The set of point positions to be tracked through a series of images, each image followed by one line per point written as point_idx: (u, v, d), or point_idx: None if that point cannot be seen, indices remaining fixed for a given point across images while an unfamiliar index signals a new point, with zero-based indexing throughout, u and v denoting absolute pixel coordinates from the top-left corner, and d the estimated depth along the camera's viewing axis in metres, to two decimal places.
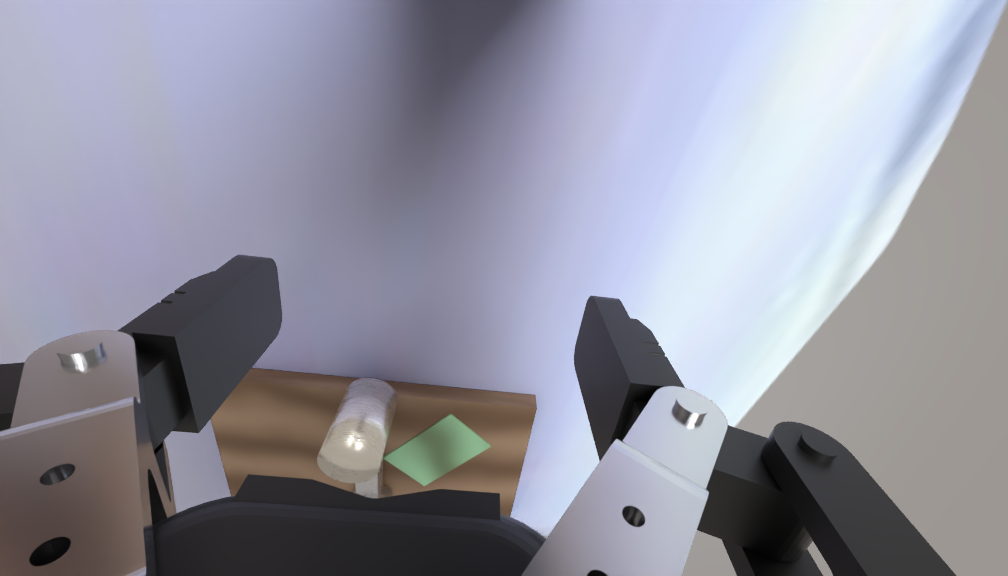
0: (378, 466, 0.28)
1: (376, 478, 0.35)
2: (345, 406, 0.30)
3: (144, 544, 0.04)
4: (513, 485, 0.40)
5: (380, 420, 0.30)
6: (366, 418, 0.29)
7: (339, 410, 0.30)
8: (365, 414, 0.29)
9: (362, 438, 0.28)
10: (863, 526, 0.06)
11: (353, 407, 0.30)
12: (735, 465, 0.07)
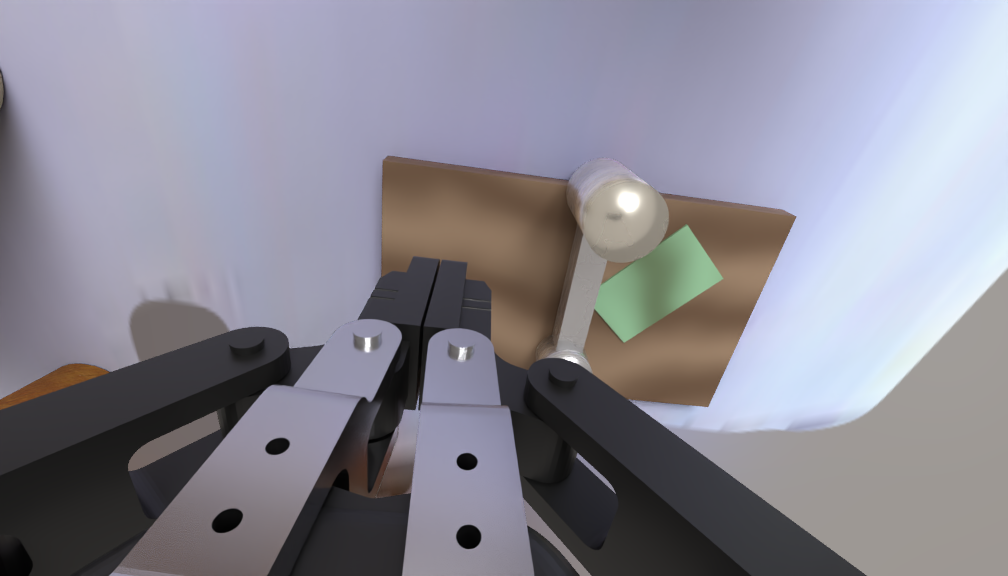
0: (665, 230, 0.21)
1: (593, 307, 0.27)
2: (597, 171, 0.23)
3: (274, 563, 0.04)
4: (732, 343, 0.32)
5: None
6: (636, 176, 0.22)
7: (588, 177, 0.23)
8: (632, 173, 0.22)
9: (649, 185, 0.20)
10: (615, 430, 0.07)
11: (612, 168, 0.22)
12: None
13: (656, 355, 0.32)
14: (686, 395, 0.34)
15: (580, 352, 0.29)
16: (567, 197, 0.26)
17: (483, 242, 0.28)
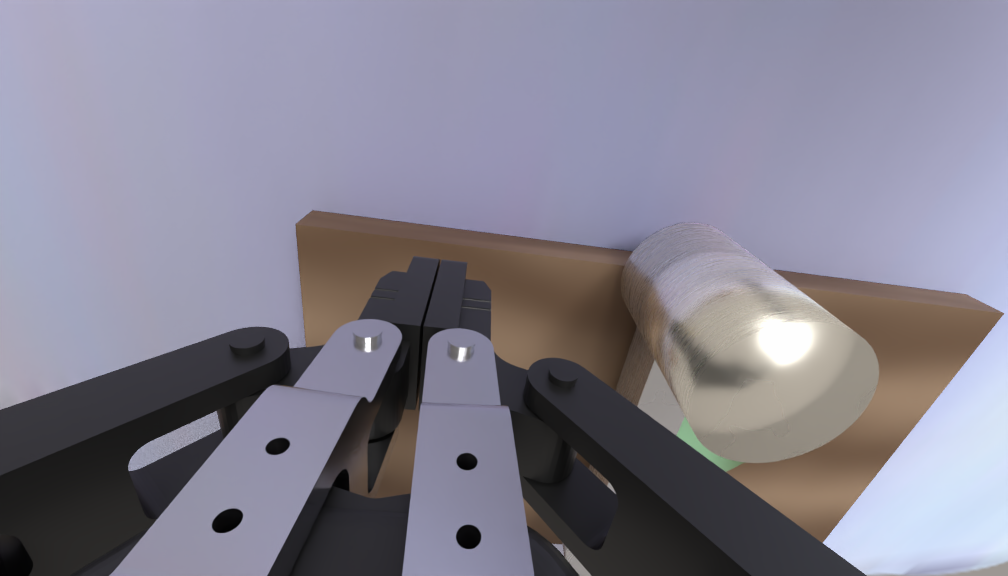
0: (861, 409, 0.10)
1: None
2: (698, 262, 0.12)
3: (275, 564, 0.04)
4: (858, 486, 0.21)
5: None
6: (787, 282, 0.11)
7: (679, 275, 0.12)
8: (775, 274, 0.11)
9: (839, 320, 0.09)
10: (615, 430, 0.07)
11: (731, 261, 0.11)
12: None
13: None
14: None
15: None
16: (624, 290, 0.14)
17: None
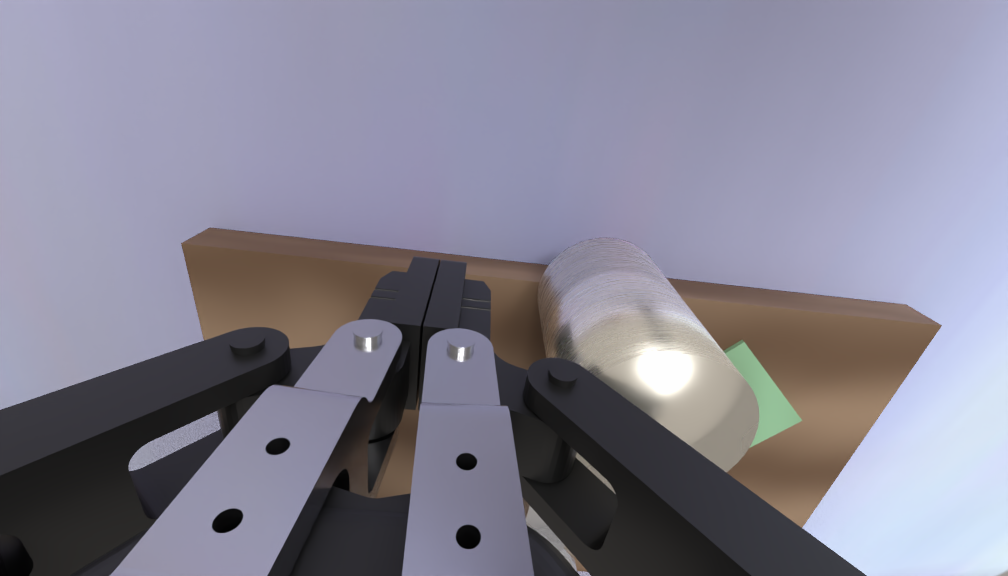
0: (746, 447, 0.09)
1: None
2: (594, 281, 0.11)
3: (275, 563, 0.04)
4: (808, 505, 0.20)
5: None
6: (679, 306, 0.10)
7: (575, 294, 0.11)
8: (669, 297, 0.10)
9: (716, 350, 0.08)
10: (614, 430, 0.07)
11: (626, 282, 0.10)
12: None
13: None
14: None
15: (559, 549, 0.17)
16: (538, 306, 0.14)
17: None
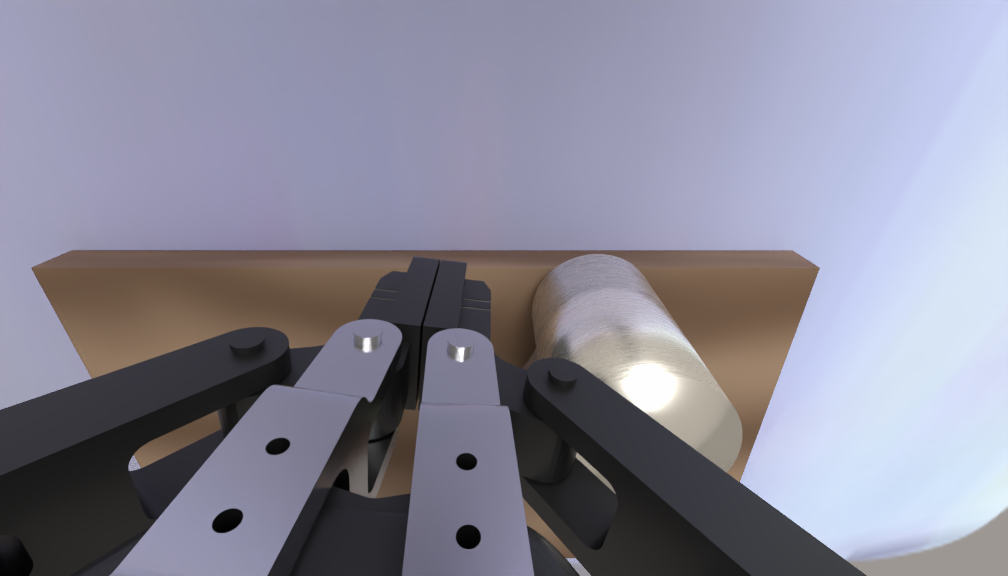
0: None
1: None
2: (609, 294, 0.11)
3: (274, 564, 0.04)
4: (734, 472, 0.19)
5: None
6: (685, 338, 0.10)
7: (588, 301, 0.11)
8: (676, 327, 0.11)
9: (719, 386, 0.09)
10: (615, 430, 0.07)
11: (640, 303, 0.11)
12: None
13: None
14: None
15: None
16: (534, 304, 0.14)
17: None
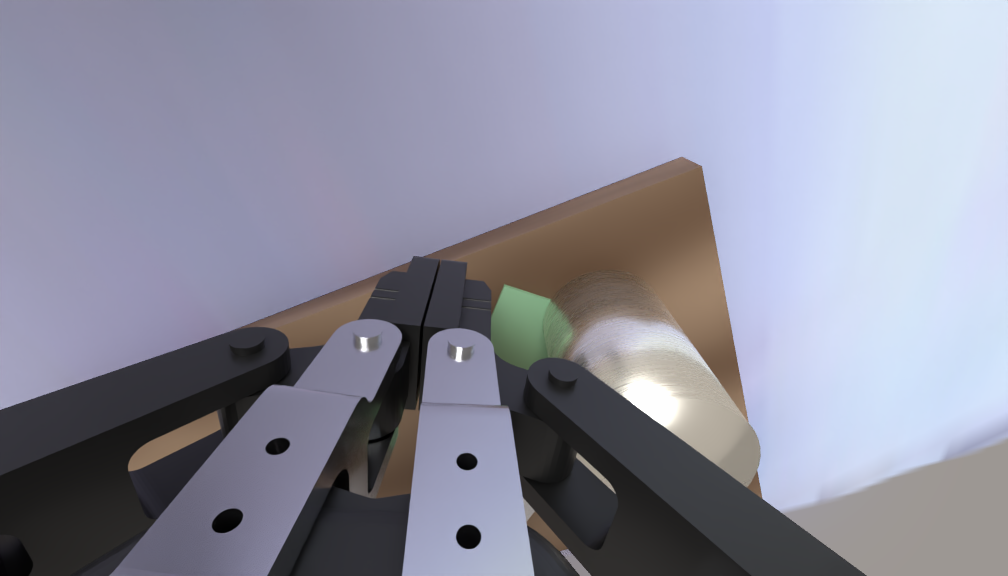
0: None
1: None
2: (622, 313, 0.11)
3: (274, 563, 0.04)
4: None
5: None
6: (699, 355, 0.10)
7: (601, 320, 0.11)
8: (690, 344, 0.11)
9: (735, 405, 0.09)
10: (615, 430, 0.07)
11: (653, 321, 0.11)
12: None
13: None
14: None
15: None
16: (546, 321, 0.14)
17: None
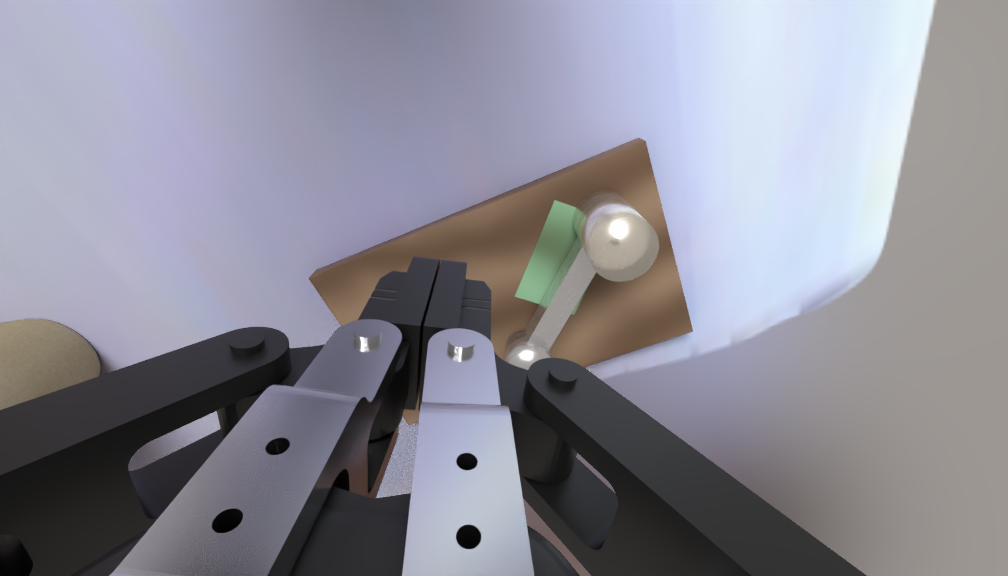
0: (651, 263, 0.25)
1: (569, 314, 0.31)
2: (609, 201, 0.27)
3: (274, 564, 0.04)
4: (671, 269, 0.33)
5: None
6: None
7: (600, 204, 0.27)
8: (636, 211, 0.26)
9: None
10: (615, 430, 0.07)
11: (621, 203, 0.27)
12: None
13: (611, 311, 0.34)
14: (664, 330, 0.35)
15: (547, 350, 0.33)
16: (575, 215, 0.30)
17: None
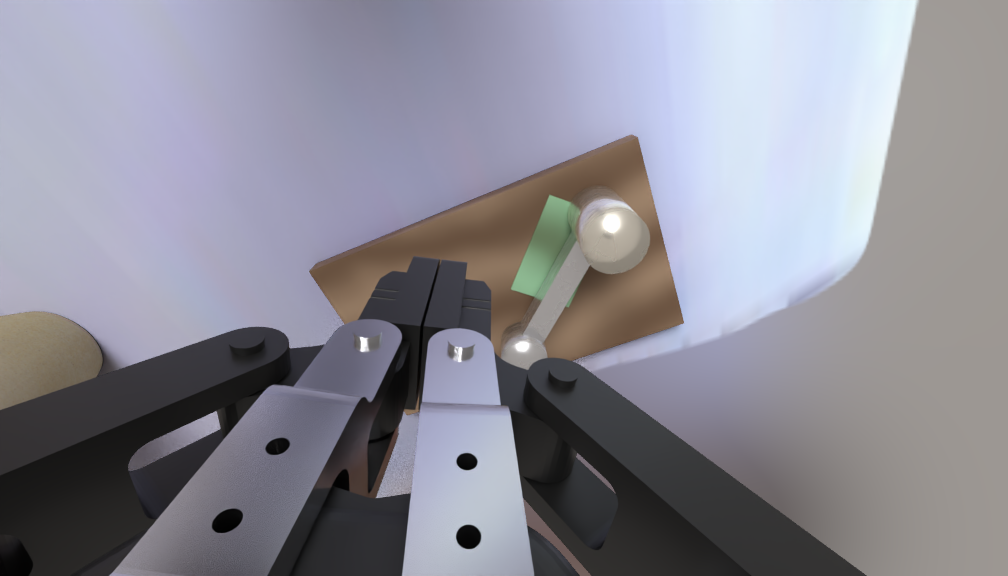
0: (643, 256, 0.26)
1: (563, 306, 0.32)
2: (602, 196, 0.28)
3: (274, 563, 0.04)
4: (663, 262, 0.33)
5: None
6: None
7: (593, 199, 0.28)
8: (628, 206, 0.27)
9: None
10: (615, 430, 0.07)
11: (614, 198, 0.27)
12: None
13: (604, 303, 0.35)
14: (656, 322, 0.36)
15: (542, 341, 0.34)
16: (569, 210, 0.30)
17: None
